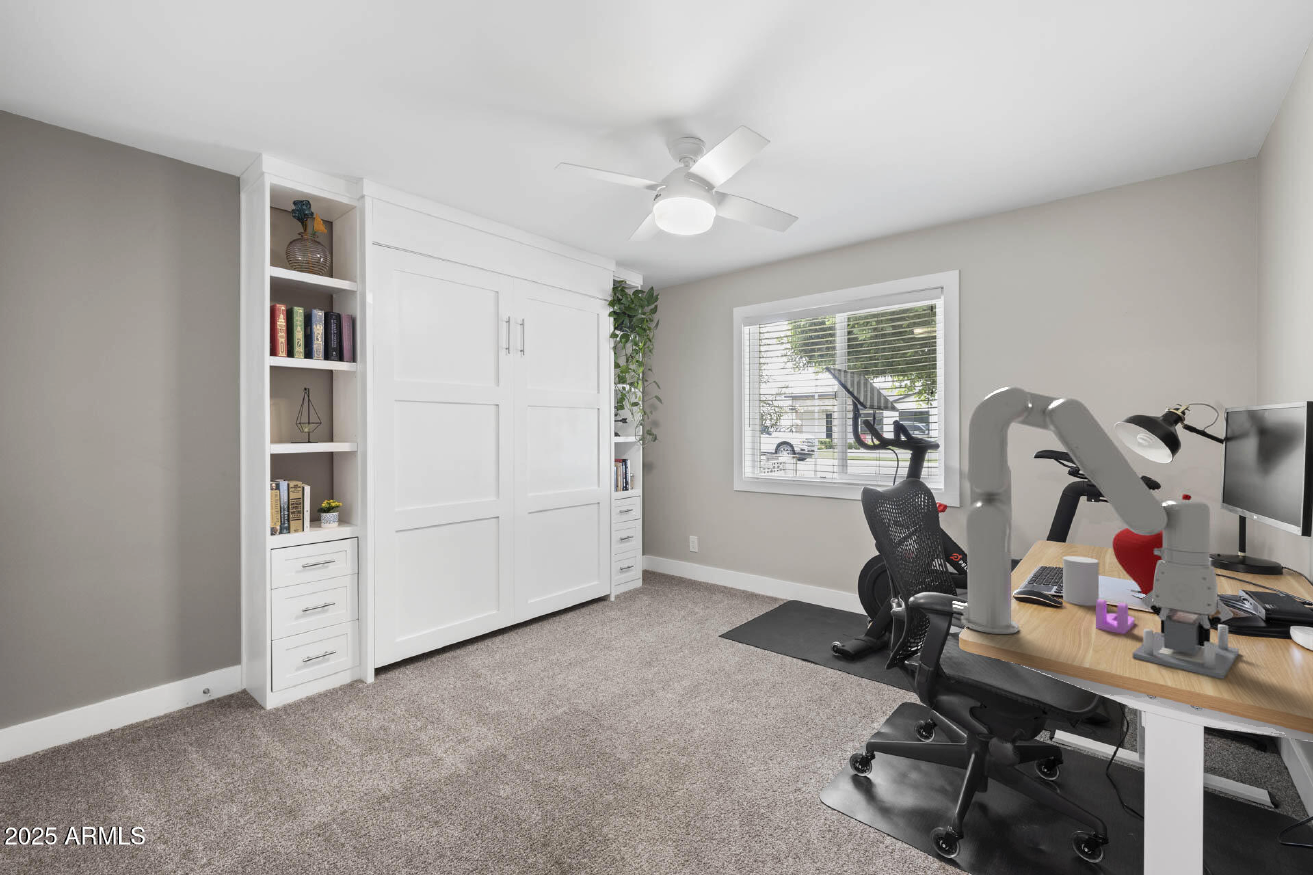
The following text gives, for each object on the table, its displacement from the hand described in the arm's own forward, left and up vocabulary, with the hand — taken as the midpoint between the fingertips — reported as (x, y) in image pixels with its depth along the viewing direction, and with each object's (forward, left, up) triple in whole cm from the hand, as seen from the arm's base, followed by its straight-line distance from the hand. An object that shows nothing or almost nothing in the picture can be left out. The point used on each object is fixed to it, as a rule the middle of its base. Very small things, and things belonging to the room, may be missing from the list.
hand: (1185, 640), depth 125 cm
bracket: (-15, +13, -4) cm, 20 cm away
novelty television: (-13, +48, -4) cm, 50 cm away
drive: (0, 0, -1) cm, 1 cm away
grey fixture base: (0, 0, -3) cm, 3 cm away
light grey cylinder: (-27, +29, -4) cm, 40 cm away
